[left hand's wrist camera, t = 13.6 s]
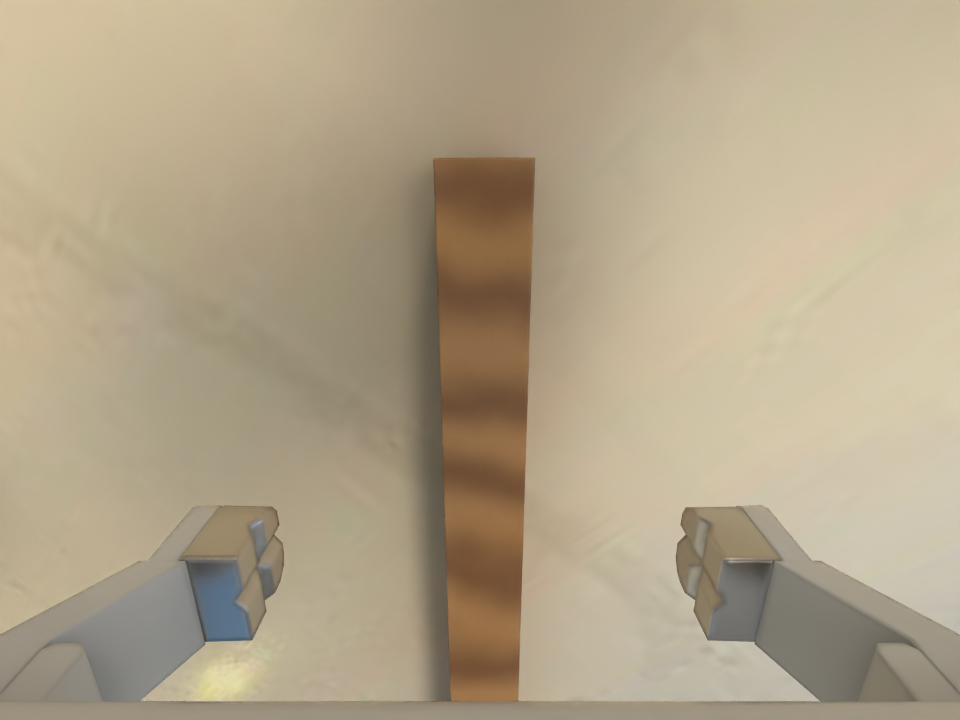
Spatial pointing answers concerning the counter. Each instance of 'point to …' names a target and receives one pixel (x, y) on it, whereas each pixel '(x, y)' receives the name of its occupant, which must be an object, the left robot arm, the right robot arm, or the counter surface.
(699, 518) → the left robot arm
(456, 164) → the post
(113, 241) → the counter surface
